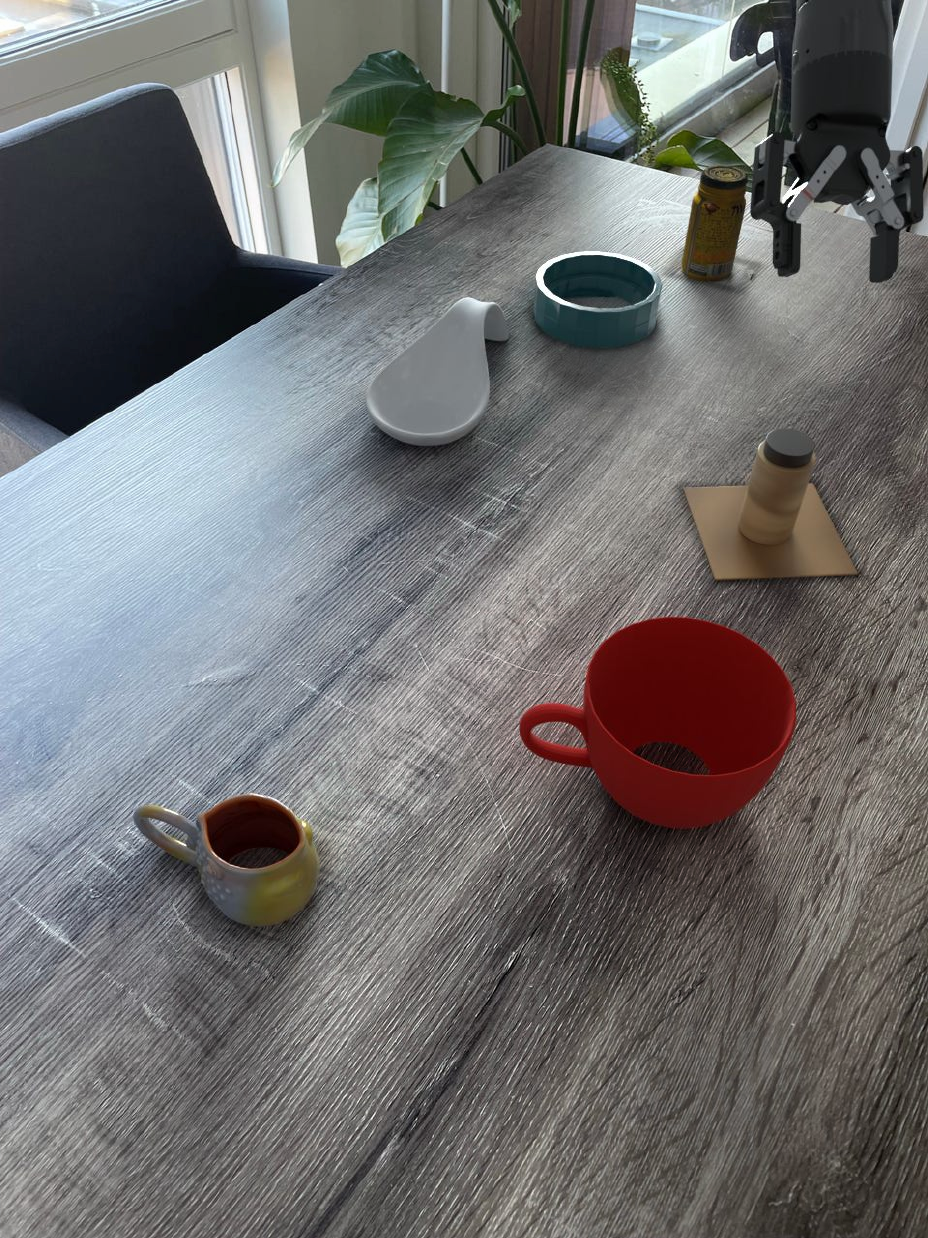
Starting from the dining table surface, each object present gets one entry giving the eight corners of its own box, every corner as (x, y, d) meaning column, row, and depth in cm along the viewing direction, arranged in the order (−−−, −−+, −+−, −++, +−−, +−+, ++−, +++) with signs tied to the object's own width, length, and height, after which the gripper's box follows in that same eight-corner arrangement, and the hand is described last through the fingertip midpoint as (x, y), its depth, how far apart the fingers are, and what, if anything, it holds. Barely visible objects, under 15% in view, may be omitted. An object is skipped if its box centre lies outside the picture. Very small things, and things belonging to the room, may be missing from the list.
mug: (341, 859, 64) (332, 801, 59) (290, 953, 60) (276, 898, 55) (180, 800, 67) (160, 740, 62) (120, 886, 63) (93, 829, 58)
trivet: (810, 491, 91) (813, 482, 90) (855, 582, 83) (858, 573, 82) (680, 496, 91) (682, 487, 90) (713, 588, 82) (715, 579, 81)
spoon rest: (464, 476, 92) (465, 410, 87) (347, 449, 95) (341, 384, 90) (537, 349, 108) (542, 287, 103) (435, 329, 110) (435, 267, 105)
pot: (642, 291, 117) (648, 250, 113) (666, 352, 108) (674, 310, 104) (526, 293, 116) (529, 252, 113) (541, 356, 107) (544, 313, 103)
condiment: (687, 256, 123) (705, 156, 115) (754, 271, 121) (778, 170, 112) (668, 281, 119) (685, 179, 110) (737, 297, 116) (760, 194, 108)
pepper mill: (783, 509, 88) (809, 424, 81) (798, 544, 85) (827, 458, 78) (731, 511, 88) (754, 425, 81) (745, 546, 84) (770, 460, 78)
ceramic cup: (504, 718, 72) (510, 622, 65) (733, 706, 73) (764, 611, 66) (524, 878, 63) (534, 788, 56) (785, 862, 64) (827, 772, 57)
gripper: (787, 36, 74) (782, 261, 76) (951, 56, 77) (943, 271, 79) (736, 79, 81) (732, 284, 83) (888, 96, 85) (882, 292, 86)
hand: (835, 277), depth 81 cm, fingers open, 8 cm apart
